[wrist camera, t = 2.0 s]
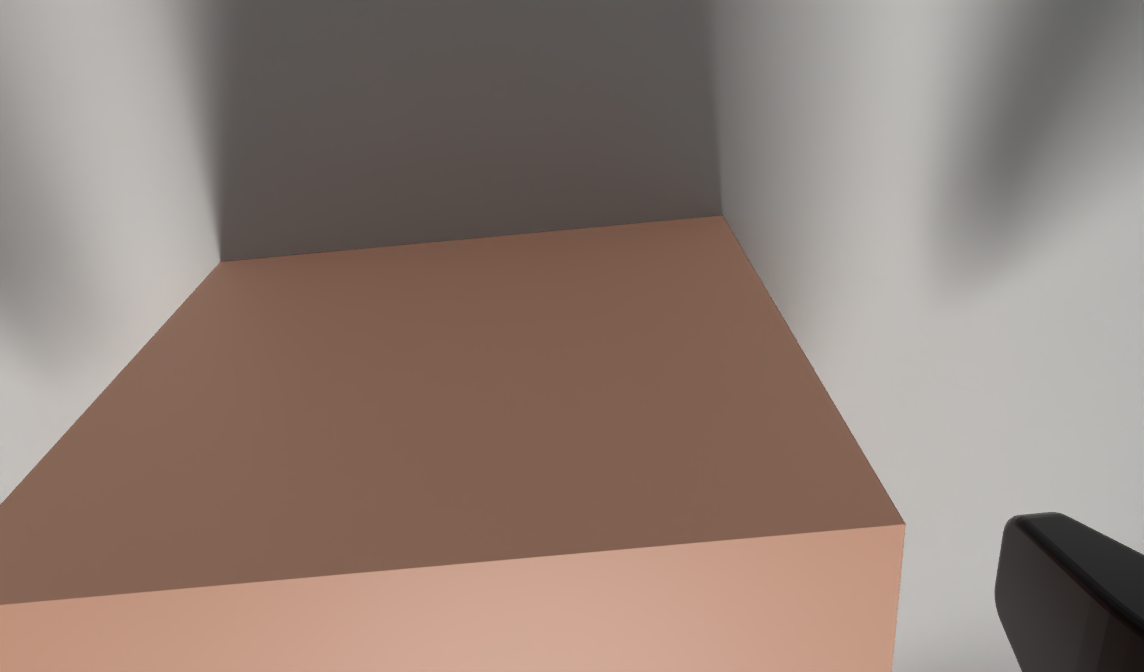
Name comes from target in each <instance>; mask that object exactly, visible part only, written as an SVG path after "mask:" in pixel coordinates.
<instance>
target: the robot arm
mask: <svg viewBox="0 0 1144 672" xmlns="http://www.w3.org/2000/svg"><path fill="white" fill-rule="evenodd" d="M995 603H996V608H997V612H998V615H999V618H1000V621H1001V623H1002V625H1003V628H1004V630H1005V632H1006V635H1007V637H1008V640H1009V642H1010V644H1011V647H1012V649H1013V651H1014V654H1015V656H1016V658H1017V661H1018V663H1019V666H1020V668H1021V670H1022V672H1144V555H1143V554H1141V553H1139V552H1137V551H1135V550H1133V549H1131V548H1129V547H1127V546H1125V545H1123V544H1121V543H1119V542H1117V541H1115V540H1113V539H1111V538H1109V537H1107V536H1105V535H1104V534H1102V533H1100V532H1098V531H1096V530H1094V529H1092V528H1090V527H1088V526H1086V525H1084V524H1082V523H1080V522H1078V521H1076V520H1074V519H1072V518H1070V517H1068V516H1066V515H1063V514H1061V513H1056V512H1048V513H1037V514H1025V515H1017V516H1014V517H1012V518H1010V519H1009V520H1008V522H1007V523H1006V525H1005V528H1004V531H1003V537H1002V544H1001V550H1000V557H999V563H998V570H997V576H996V583H995Z"/></svg>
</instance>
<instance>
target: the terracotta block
mask: <svg viewBox="0 0 1144 672" xmlns="http://www.w3.org/2000/svg"><path fill="white" fill-rule="evenodd" d="M905 525H906V524H905V522H904V521H903V519H902V517H901V516H900V514H899V512H898V511H897V509H896V507H895V505H894V504H893V502H892V500H891V499H890V497H889V495H888V494H887V492H886V490H885V489H884V487H883V485H882V484H881V482H880V480H879V478H878V477H877V475H876V473H875V472H874V470H873V468H872V467H871V465H870V463H869V462H868V460H867V458H866V457H865V455H864V453H863V452H862V450H861V448H860V446H859V445H858V443H857V441H856V440H855V438H854V436H853V435H852V433H851V431H850V430H849V428H848V426H847V425H846V423H845V421H844V419H843V418H842V416H841V414H840V413H839V411H838V409H837V408H836V406H835V404H834V403H833V401H832V399H831V398H830V396H829V394H828V392H827V391H826V389H825V387H824V386H823V384H822V382H821V381H820V379H819V377H818V376H817V374H816V372H815V371H814V369H813V367H812V366H811V364H810V362H809V360H808V359H807V357H806V355H805V354H804V352H803V350H802V349H801V347H800V345H799V344H798V342H797V340H796V339H795V337H794V335H793V333H792V332H791V330H790V328H789V327H788V325H787V323H786V322H785V320H784V318H783V317H782V315H781V313H780V312H779V310H778V308H777V306H776V305H775V303H774V301H773V300H772V298H771V296H770V295H769V293H768V291H767V290H766V288H765V286H764V285H763V283H762V281H761V280H760V278H759V276H758V274H757V273H756V271H755V269H754V268H753V266H752V264H751V263H750V261H749V259H748V258H747V256H746V254H745V253H744V251H743V249H742V247H741V246H740V244H739V242H738V241H737V239H736V237H735V236H734V234H733V232H732V231H731V229H730V227H729V226H728V224H727V222H726V221H725V219H724V217H723V215H721V216H710V217H699V218H688V219H678V220H667V221H656V222H645V223H634V224H624V225H613V226H602V227H591V228H580V229H570V230H559V231H548V232H537V233H526V234H516V235H505V236H494V237H483V238H472V239H462V240H451V241H440V242H429V243H418V244H408V245H397V246H386V247H375V248H364V249H354V250H343V251H332V252H321V253H310V254H300V255H289V256H278V257H267V258H256V259H246V260H235V261H224V262H220V263H219V264H218V265H217V266H216V267H215V268H214V270H213V271H212V272H211V273H210V274H209V275H208V276H207V277H206V278H205V280H204V281H203V282H202V283H201V284H200V285H199V286H198V287H197V288H196V289H195V291H194V292H193V293H192V294H191V295H190V296H189V297H188V298H187V299H186V301H185V302H184V303H183V304H182V305H181V306H180V307H179V308H178V309H177V310H176V312H175V313H174V314H173V315H172V316H171V317H170V318H169V319H168V320H167V321H166V323H165V324H164V325H163V326H162V327H161V328H160V329H159V330H158V331H157V333H156V334H155V335H154V336H153V337H152V338H151V339H150V340H149V341H148V342H147V344H146V345H145V346H144V347H143V348H142V349H141V350H140V351H139V352H138V354H137V355H136V356H135V357H134V358H133V359H132V360H131V361H130V362H129V363H128V365H127V366H126V367H125V368H124V369H123V370H122V371H121V372H120V373H119V374H118V376H117V377H116V378H115V379H114V380H113V381H112V382H111V383H110V384H109V386H108V387H107V388H106V389H105V390H104V391H103V392H102V393H101V394H100V395H99V397H98V398H97V399H96V400H95V401H94V402H93V403H92V404H91V405H90V407H89V408H88V409H87V410H86V411H85V412H84V413H83V414H82V415H81V416H80V418H79V419H78V420H77V421H76V422H75V423H74V424H73V425H72V426H71V427H70V429H69V430H68V431H67V432H66V433H65V434H64V435H63V436H62V437H61V439H60V440H59V441H58V442H57V443H56V444H55V445H54V446H53V447H52V448H51V450H50V451H49V452H48V453H47V454H46V455H45V456H44V457H43V458H42V460H41V461H40V462H39V463H38V464H37V465H36V466H35V467H34V468H33V469H32V471H31V472H30V473H29V474H28V475H27V476H26V477H25V478H24V479H23V480H22V482H21V483H20V484H19V485H18V486H17V487H16V488H15V489H14V490H13V492H12V493H11V494H10V495H9V496H8V497H7V498H6V499H5V500H4V501H3V503H2V504H1V505H0V672H892V665H893V654H894V643H895V633H896V622H897V611H898V600H899V590H900V579H901V568H902V558H903V547H904V536H905Z"/></svg>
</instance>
